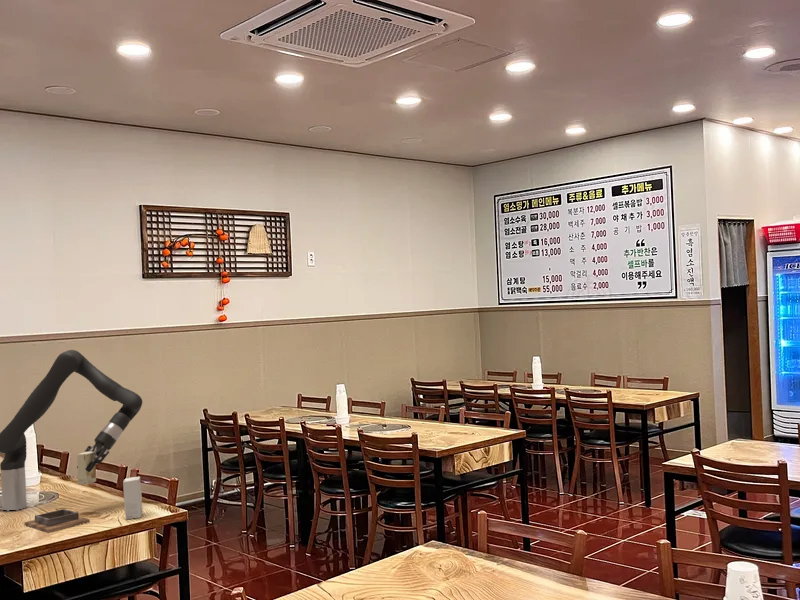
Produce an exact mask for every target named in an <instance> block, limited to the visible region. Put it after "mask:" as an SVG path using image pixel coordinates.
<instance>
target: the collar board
mask: <svg viewBox="0 0 800 600" xmlns="http://www.w3.org/2000/svg"><path fill="white" fill-rule="evenodd" d="M87 522H89V523H90V522H91V521H90V519H89V518H87V517H82V516H79V512H77V511H74V510H70V509H66V508H62V509H58V510H54V511H48V512H46V513H41V514H36V515H34V519H32V520H27V521H24V526H25V525H26V526H25V527H28V526H29V528H31V527H32V529H35V530H38V531H42V532H45V533H47V532H48V534H50V533H54V532H56V531H57V532H58V531H60V530H65V529H70V528H74V527H77V526H81V525H84V524H83V523H85V524H88V523H87ZM80 524H81V525H80ZM76 525H77V526H76ZM53 531H54V532H53ZM49 532H50V533H49Z"/></svg>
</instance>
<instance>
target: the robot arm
mask: <svg viewBox="0 0 800 600" xmlns="http://www.w3.org/2000/svg"><path fill="white" fill-rule="evenodd" d="M74 373H76V374H79V375H80V376H82V377H84V378H85V379H86V380H87V381H89V383H91V385H92V386H93V387H94V388H95V389H96V390H97V391H98V392H99V393H101V394H102V395H104V396H105V397H106V398H108V399H110V401H113V402H118V403H120V404H122V405H121V407H120V408H119V410H118V411H117V412H116V413H114V415H113V416H112V417H111V418H110V420H109V421H108V422H107V423H106V424H105V425H104V426H103V428H102V429H101V430H100V431H99V433H98V434H97V436H95V438H94V440H93V441H94V443H95V444H94V445H93V446H91V445H88V446H87V447H86V448H85V450H84V452H94V453H93V458H92V462H90V463H89V464H88V466H87V467H86V468H85V470H86V471H88V472H90V471H91V470H92V469H93V467H94V466H95V465H100V464H101V463H102V462H104V460H105V458H107V456H108V455H109V454H110V450H111V449H112V448H113V446H114V445H115V444H116V443H117V441H118V440H119V438H120V437H121V435H122V434H123V432H124V431H125V430H126V428H127V427H128V425H129V424H130V422H131V421H132V420H133V419H134V418H135V416H136V415H137V414H138V413H139V412H140V410H141V408H142V407H143V398H142V397H141V396H140V395H139V394H138V393H136V392H134V391H133V390H130V389H128V388H125V387H124V386H122V385H121V384H120V383H118V382H116V380H113V379H112V378H110V376H108V375H107V374H105V373H104V372H102V371H101V370H100V369H99V368H97V367H96V366H95V365H93V364H92V362H90V361H89V360H88V359H87V358H86V357H85V356H84V355H83V354H81V352H79V351H78V350H75V349H69V350H66V351H63V352H61V353H60V354H59V355H58V356H57V357H56V358H55V359H54V361H53V363H52V365H51V367H50V369H49V371H47V374H46V375H45V377H44V378H43V379H41V381H40V382H39V383H38V385H37V386H36V387H35V388H34V389H33V390H32V392H31V393H30V394H29V396H28V397H27V398H26V400H25V401H24V403H23V404H22V405H21V407H20V408H19V409H18V411H17V413H16V414H15V415H14V417H13V418H12V419H11V421H10V422H9V423H8V424H7V425H6V426H5V427H4V428H3V430H2V431H1V432H0V454H4V458H3V459H2V461H1V462H0V486H1V504H2V505H1V506H2V511H3V510H16V511H20V510H19V509H21V510H24V509H26V508H27V507H28V506H27V505H28V503H27V501H28V500H27V486H26V485H27V483H26V482H27V481H26V460H27V437H26V435H25V432H26V431H27V430H28V429H29V428H30V427H31V426H33V424H35V422H38V421H39V419H41V418H42V417H43V416H44V414H45V413H46V412H47V411H48V410H49V409H50V407H51V406H52V405H53V403H54V401H55V400H56V398H57V396H58V393H59V390H60V388H61V386H62V385H63V384H64V383H65V381H66V380H67V379H68V378H69V376H71V375H72V374H74ZM76 469H77V470H78V465H76ZM25 507H26V508H25ZM23 508H24V509H23Z"/></svg>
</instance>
